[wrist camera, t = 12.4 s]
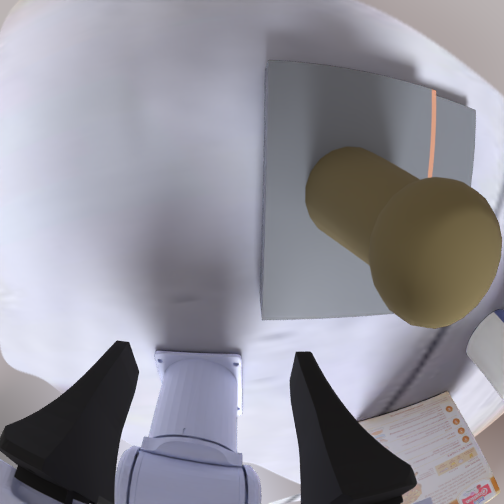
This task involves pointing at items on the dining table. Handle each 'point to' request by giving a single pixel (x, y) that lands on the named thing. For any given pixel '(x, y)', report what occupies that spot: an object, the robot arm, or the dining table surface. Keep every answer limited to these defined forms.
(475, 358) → the white spray bottle
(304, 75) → the stepped stand
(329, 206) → the cork
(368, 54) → the dining table surface
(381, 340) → the dining table surface
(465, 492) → the coffeecake box
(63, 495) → the robot arm
